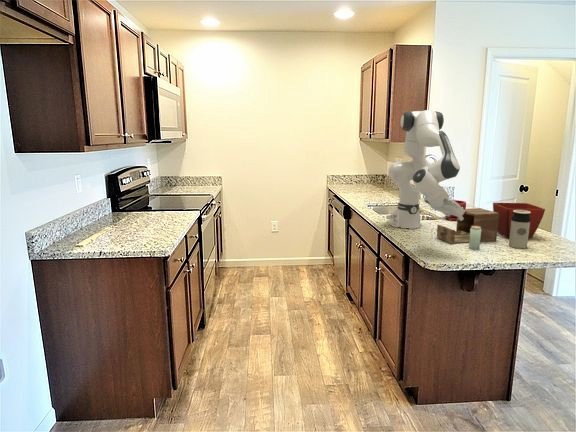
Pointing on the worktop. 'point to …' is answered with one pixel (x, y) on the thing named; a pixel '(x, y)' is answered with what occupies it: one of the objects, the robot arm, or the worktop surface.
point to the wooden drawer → (452, 235)
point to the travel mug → (519, 229)
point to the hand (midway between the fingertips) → (455, 217)
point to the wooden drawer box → (480, 223)
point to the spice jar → (475, 237)
